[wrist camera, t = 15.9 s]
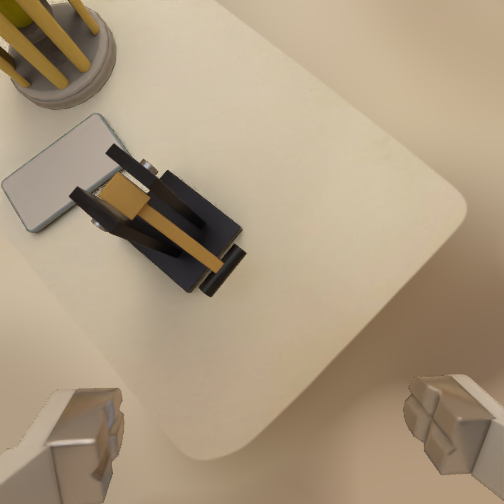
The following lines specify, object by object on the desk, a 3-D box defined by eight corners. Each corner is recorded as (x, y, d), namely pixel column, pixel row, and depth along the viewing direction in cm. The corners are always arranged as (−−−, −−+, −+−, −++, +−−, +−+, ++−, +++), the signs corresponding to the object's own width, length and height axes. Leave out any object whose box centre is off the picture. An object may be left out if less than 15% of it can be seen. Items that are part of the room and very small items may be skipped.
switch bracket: (242, 229, 34) (211, 182, 21) (190, 292, 34) (124, 287, 20) (171, 173, 36) (100, 97, 23) (121, 232, 36) (19, 191, 22)
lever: (241, 250, 29) (250, 256, 27) (208, 292, 29) (214, 301, 26) (130, 157, 24) (130, 156, 22) (88, 207, 24) (84, 211, 21)
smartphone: (132, 158, 36) (28, 235, 36) (136, 162, 37) (35, 237, 37) (96, 109, 38) (-3, 182, 37) (101, 114, 39) (4, 185, 38)
